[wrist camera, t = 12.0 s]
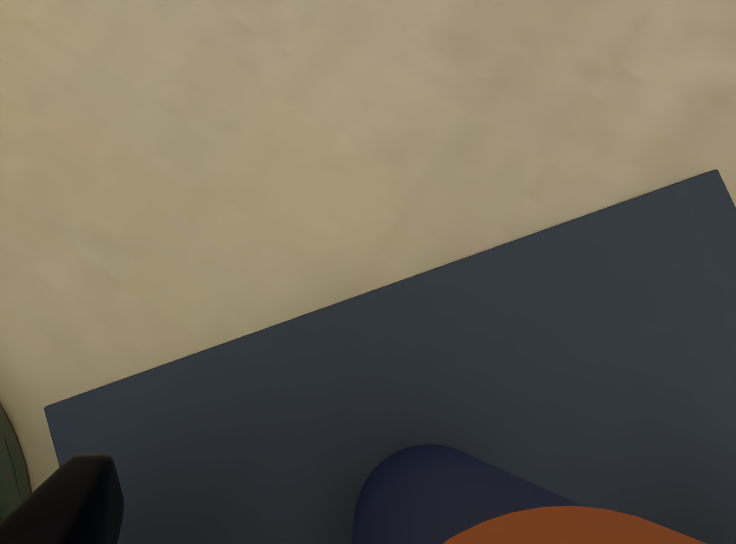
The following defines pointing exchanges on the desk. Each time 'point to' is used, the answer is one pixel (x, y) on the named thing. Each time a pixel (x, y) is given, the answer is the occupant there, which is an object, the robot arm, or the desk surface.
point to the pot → (11, 470)
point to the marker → (482, 507)
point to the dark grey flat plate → (455, 387)
